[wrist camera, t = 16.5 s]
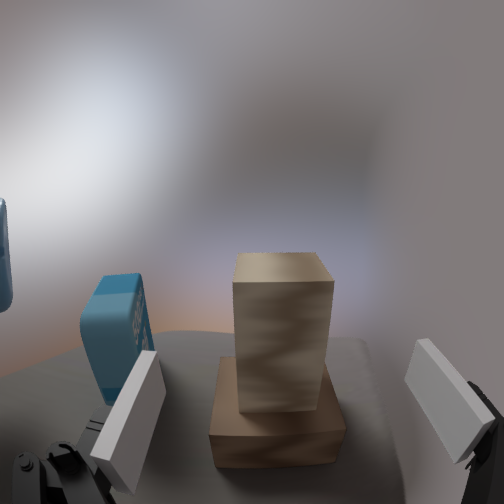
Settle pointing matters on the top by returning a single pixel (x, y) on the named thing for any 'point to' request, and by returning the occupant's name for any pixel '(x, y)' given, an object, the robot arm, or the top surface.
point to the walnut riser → (273, 429)
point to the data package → (115, 331)
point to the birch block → (280, 330)
